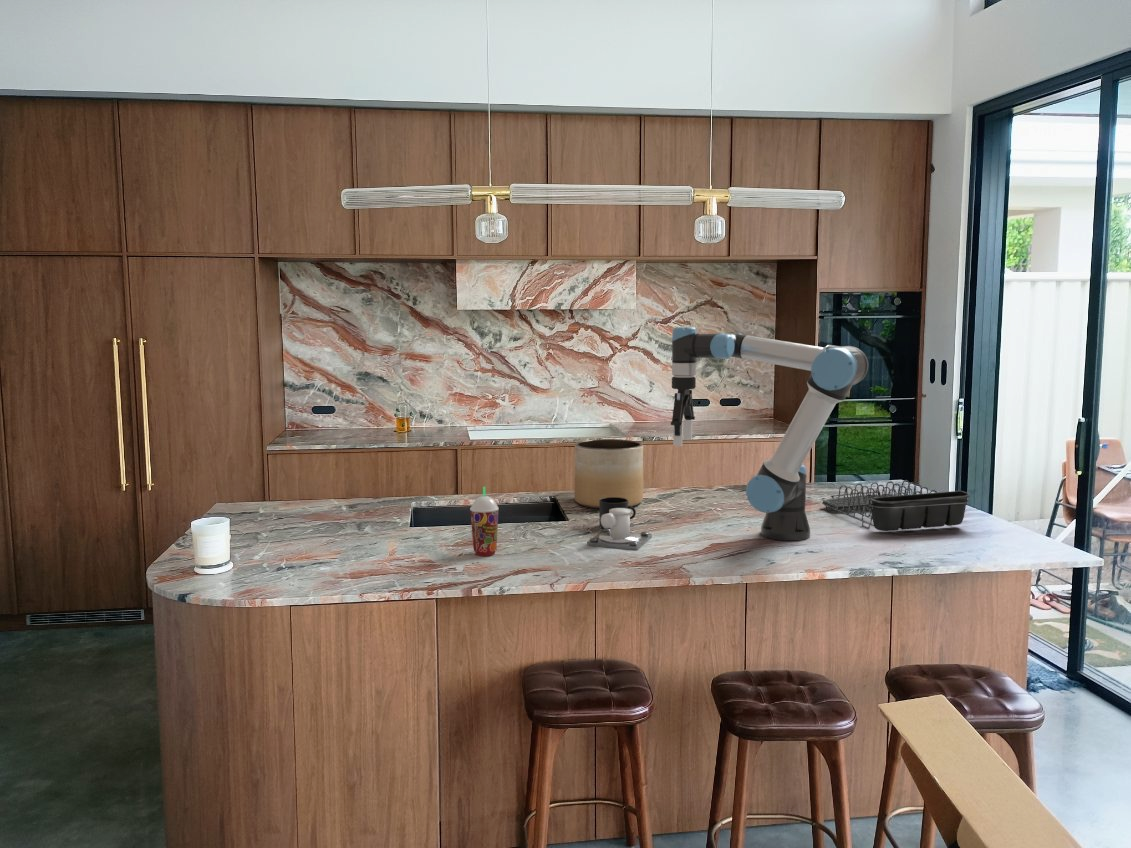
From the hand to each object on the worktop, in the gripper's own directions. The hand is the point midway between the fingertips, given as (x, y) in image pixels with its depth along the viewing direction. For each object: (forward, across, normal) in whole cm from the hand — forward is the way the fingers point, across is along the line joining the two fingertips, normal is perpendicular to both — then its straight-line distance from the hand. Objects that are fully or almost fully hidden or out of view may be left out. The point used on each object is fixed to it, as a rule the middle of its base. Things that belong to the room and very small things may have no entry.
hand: (682, 442), depth 283 cm
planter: (+29, -32, -35) cm, 56 cm away
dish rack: (+29, -41, +62) cm, 80 cm away
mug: (+29, +2, -21) cm, 36 cm away
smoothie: (+29, +46, -48) cm, 72 cm away
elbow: (+27, +20, -16) cm, 37 cm away
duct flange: (+29, +19, -15) cm, 38 cm away
